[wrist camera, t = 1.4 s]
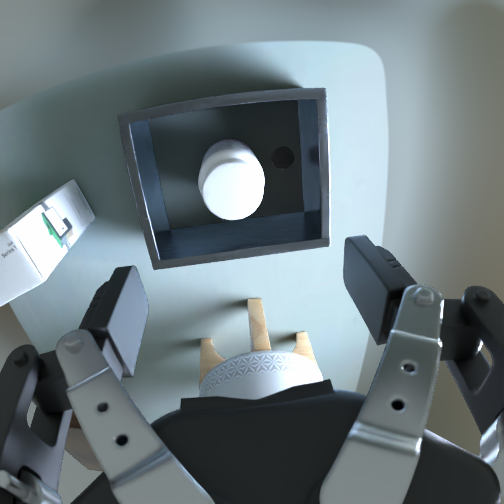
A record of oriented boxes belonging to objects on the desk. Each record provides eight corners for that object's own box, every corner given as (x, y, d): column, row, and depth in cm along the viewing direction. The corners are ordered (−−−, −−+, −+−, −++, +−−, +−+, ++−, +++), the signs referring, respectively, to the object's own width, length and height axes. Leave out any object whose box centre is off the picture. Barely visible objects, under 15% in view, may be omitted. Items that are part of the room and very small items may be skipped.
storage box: (164, 237, 30) (153, 270, 25) (138, 110, 24) (117, 115, 19) (311, 218, 31) (330, 246, 25) (304, 88, 25) (326, 87, 19)
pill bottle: (265, 173, 28) (281, 205, 21) (219, 198, 29) (219, 238, 21) (240, 128, 26) (248, 143, 19) (192, 154, 27) (181, 180, 19)
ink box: (43, 250, 29) (-10, 316, 19) (21, 213, 27) (-43, 270, 17) (98, 217, 28) (46, 285, 18) (74, 175, 26) (7, 226, 16)
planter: (195, 301, 34) (187, 449, 19) (311, 294, 35) (363, 430, 20) (206, 375, 40) (208, 495, 25) (300, 368, 41) (330, 482, 26)
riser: (62, 356, 37) (36, 422, 27) (103, 355, 38) (81, 428, 27) (100, 410, 44) (88, 469, 34) (137, 411, 44) (129, 474, 34)
